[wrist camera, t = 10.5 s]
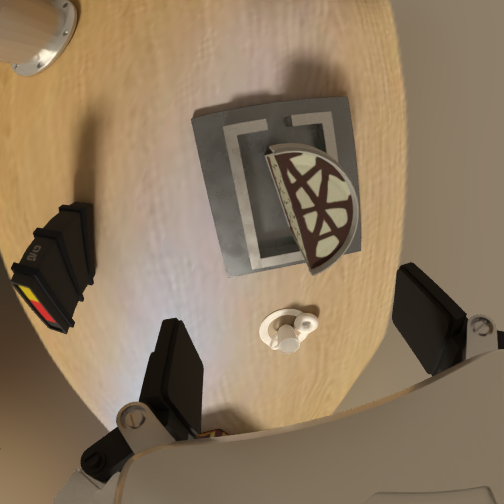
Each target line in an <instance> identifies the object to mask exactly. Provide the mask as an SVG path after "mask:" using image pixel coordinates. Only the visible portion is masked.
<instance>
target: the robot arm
mask: <svg viewBox="0 0 504 504" xmlns="http://www.w3.org/2000/svg"><path fill="white" fill-rule="evenodd" d="M76 23H77V9H76V7H75V5H74V4H73V3H72V2H70V1H68V0H0V62H4V63H11V66H12V69H13V70H14V72H15V73H17V74H18V75H21V76H33V75H36V74H38V73H40V72H42V71H43V70H45V69H46V68H48V67H49V66H50V65H51V64H52V63H53V62H54V61H55V60H56V59H57V58H58V57H59V56H60V54H61V53H62V52H63V51H64V49H65V48H66V46H67V45H68V43H69V41H70V39H71V37H72V35H73V33H74V30H75V27H76ZM392 320H393V323H394V325H395V326H396V328H397V329H398V330H399V332H400V333H401V335H402V336H403V338H404V339H405V340H406V342H407V343H408V345H409V346H410V348H411V349H412V351H413V352H414V354H415V355H416V357H417V358H418V360H419V361H420V363H421V364H422V366H423V367H424V369H425V370H426V372H427V373H428V374H431V375H432V376H433V377H431V378H428V379H426V380H424V381H422V382H420V383H418V384H415V385H413V386H411V387H409V388H406V389H404V390H402V391H399V392H397V393H394V394H392V395H389V396H387V397H384V398H381V399H379V400H376V401H373V402H370V403H368V404H365V405H362V406H359V407H356V408H353V409H350V410H347V411H343V412H340V413H337V414H333V415H330V416H326V417H322V418H319V419H315V420H311V421H307V422H303V423H298V424H294V425H289V426H285V427H280V428H275V429H269V430H263V431H257V432H251V433H244V434H237V435H230V436H222V437H212V438H202V439H197V435H199V434H200V433H201V411H202V390H203V372H204V368H203V364H202V361H201V359H200V357H199V355H198V353H197V351H196V349H195V347H194V345H193V343H192V340H191V338H190V336H189V334H188V332H187V330H186V328H185V325H184V323H183V321H181V320H180V321H179V320H178V319H177V318H171V319H165V320H163V322H162V325H161V329H160V332H159V336H158V340H157V343H156V347H155V351H154V352H152V353H151V355H150V358H149V361H148V365H147V369H146V373H145V377H144V381H143V385H142V389H141V394H140V398H139V402H131V403H129V404H127V405H125V406H124V407H122V408H121V409H120V411H119V412H118V414H117V417H116V423H117V426H118V427H116V428H115V429H114V430H112V431H111V432H110V433H108V434H107V435H106V436H105V437H103V438H102V439H100V440H99V441H97V442H96V443H95V444H93V445H92V446H91V447H89V448H88V449H87V450H86V451H84V453H83V455H82V457H81V467H82V468H81V469H80V470H78V469H76V470H75V472H74V473H73V474H72V475H71V477H70V478H69V479H68V480H67V482H66V483H65V484H64V485H63V487H62V488H61V489H60V490H59V492H58V493H57V494H56V496H55V498H54V504H504V332H503V331H498V330H497V329H496V325H495V323H494V321H493V320H492V319H491V318H489V317H487V316H485V315H474V316H472V317H470V319H468V318H467V317H466V313H465V312H464V311H463V310H462V309H461V308H460V307H459V306H458V305H457V304H456V303H455V302H454V301H453V300H452V299H451V298H450V297H449V296H448V295H447V294H446V293H445V292H444V291H443V290H442V289H441V288H440V287H439V286H438V285H437V284H436V283H435V282H434V281H433V280H432V279H430V278H429V277H428V276H427V275H426V274H425V273H424V272H423V271H422V270H421V269H419V268H418V267H417V266H416V265H415V264H414V263H412V262H410V263H408V264H404V265H401V266H400V268H399V269H398V270H397V274H396V286H395V296H394V305H393V313H392Z"/></svg>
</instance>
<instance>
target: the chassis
mask: <svg viewBox="0 0 504 504" xmlns="http://www.w3.org/2000/svg"><path fill="white" fill-rule="evenodd" d="M191 121H192V126H193V131H194V136H195V140H196V145H197V149H198V154H199V159H200V163H201V168H202V172H203V176H204V181H205V185H206V189H207V194H208V198H209V202H210V207H211V211H212V215H213V219H214V223H215V227H216V232H217V236H218V240H219V244H220V248H221V252H222V256H223V260H224V264H225V268H226V271H227V275H228V278H229V277H234V276H240V275H245V274H250V273H255V272H260V271H266V270H271V269H276V268H281V267H286V266H291V265H296V264H301V263H306V261H305V259H304V257H303V255H302V253H301V251H300V249H299V247H298V245H297V243H296V241H295V239H294V237H293V235H292V233H291V231H290V229H289V226H288V223H287V220H286V217H285V214H284V211H283V208H282V205H281V202H280V199H279V196H278V193H277V190H276V187H275V184H274V181H273V178H272V175H271V172H270V170H269V167H268V164H267V161H266V158H265V155H268V154H271V153H273V151H272V150H271V149H270V147H269V146H272V145H276V144H283V143H298V144H305V145H309V146H312V147H315V148H317V149H319V150H322V151H324V152H325V153H327V154H328V155H330V156H331V157H332V158H333V159H334V160H336V161H337V162H338V163H339V164H340V165H341V167H342V168H343V169H344V170H345V172H346V173H347V175H348V176H349V177H350V179H351V181H352V183H353V185H354V188H355V191H356V194H357V199H358V206H359V207H358V208H359V213H358V224H357V229H356V232H355V235H354V238H353V240H352V242H351V244H350V246H349V247H348V249H347V250H346V252H345V253H344V254H349V253H354V252H358V251H361V223H360V201H359V186H358V174H357V163H356V153H355V145H354V137H353V129H352V122H351V115H350V109H349V103H348V97H328V98H313V99H301V100H292V101H283V102H275V103H268V104H261V105H254V106H248V107H243V108H237V109H232V110H227V111H222V112H217V113H212V114H208V115H203V116H199V117H195V118H191ZM344 254H343V255H344Z"/></svg>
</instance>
